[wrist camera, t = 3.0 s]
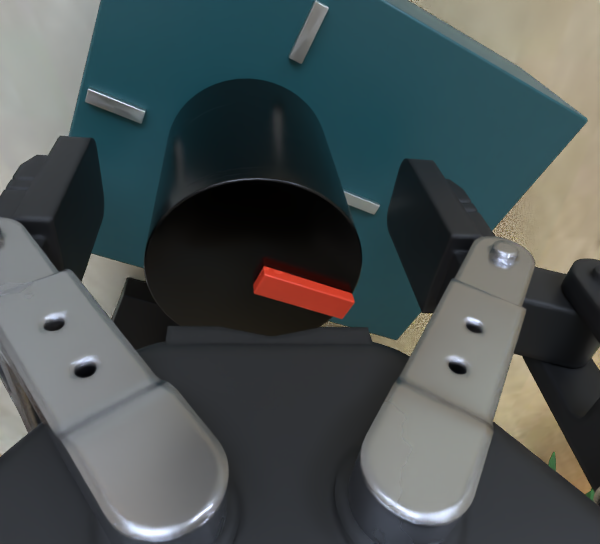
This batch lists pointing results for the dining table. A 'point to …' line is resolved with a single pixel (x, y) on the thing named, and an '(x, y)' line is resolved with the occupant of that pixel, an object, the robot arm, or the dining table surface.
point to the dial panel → (320, 112)
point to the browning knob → (251, 216)
